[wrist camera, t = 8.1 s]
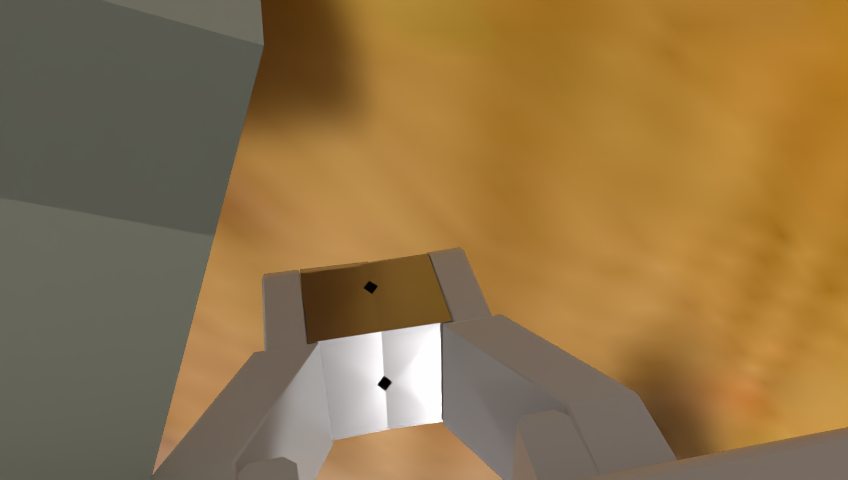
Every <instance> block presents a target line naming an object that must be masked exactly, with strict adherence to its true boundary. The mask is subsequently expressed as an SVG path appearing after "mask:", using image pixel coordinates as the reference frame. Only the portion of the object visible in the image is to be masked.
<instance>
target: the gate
mask: <svg viewBox="0 0 848 480" xmlns="http://www.w3.org/2000/svg"><path fill="white" fill-rule="evenodd" d="M263 48H264V38H263V25H262V11H261V0H0V480H151V477H152V473H153V469H154V465H155V462H156V458H157V454H158V450H159V446H160V442H161V439H162V435H163V431H164V427H165V423H166V419H167V416H168V412H169V408H170V404H171V400H172V396H173V393H174V389H175V385H176V381H177V377H178V373H179V370H180V366H181V362H182V358H183V354H184V350H185V347H186V343H187V339H188V335H189V331H190V328H191V324H192V320H193V316H194V312H195V308H196V305H197V301H198V297H199V293H200V289H201V285H202V282H203V278H204V274H205V270H206V266H207V262H208V259H209V255H210V251H211V247H212V243H213V239H214V236H215V232H216V228H217V224H218V220H219V216H220V213H221V209H222V205H223V201H224V197H225V193H226V190H227V186H228V182H229V178H230V174H231V170H232V167H233V163H234V159H235V155H236V151H237V147H238V144H239V140H240V136H241V132H242V128H243V124H244V121H245V117H246V113H247V109H248V105H249V101H250V98H251V94H252V90H253V86H254V82H255V78H256V75H257V71H258V67H259V63H260V59H261V55H262V52H263Z"/></svg>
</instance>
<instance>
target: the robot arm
mask: <svg viewBox="0 0 848 480" xmlns="http://www.w3.org/2000/svg"><path fill="white" fill-rule="evenodd" d="M300 276H301V278H300ZM262 295H263V323H264V351H260V352H255V353H253V354H252V355H251V357H250V358H249V359H248V360H247V362H246V363H245V364H244V365H243V366H242V368H241V369H240V370H239V371H238V372H237V374H236V375H235V376H234V377H233V378H232V380H231V381H230V382H229V383H228V384H227V386H226V387H225V388H224V389H223V391H222V392H221V393H220V394H219V395H218V397H217V398H216V399H215V400H214V401H213V403H212V404H211V405H210V406H209V407H208V409H207V410H206V411H205V412H204V413H203V415H202V416H201V417H200V418H199V420H198V421H197V422H196V423H195V424H194V426H193V427H192V428H191V429H190V430H189V432H188V433H187V434H186V435H185V436H184V438H183V439H182V440H181V441H180V443H179V444H178V445H177V446H176V447H175V449H174V450H173V451H172V452H171V453H170V455H169V456H168V457H167V458H166V459H165V461H164V462H163V463H162V464H161V465H160V467H159V468H158V469H157V470H156V472H155V473H154V474H153V475H152V477H151V480H315V479H316V477H317V475H318V473H319V471H320V469H321V467H322V465H323V463H324V461H325V459H326V457H327V455H328V453H329V451H330V449H331V447H332V445H333V440H338V439H343V438H347V437H352V436H357V435H362V434H367V433H372V432H377V431H382V430H387V429H394V428H401V427H408V426H415V425H422V424H429V423H435V422H442V421H443V424H444V425H445V426H446V427H447V428H448V429H449V430H450V431H451V432H452V433H453V434H454V435H455V436H457V437H458V438H459V439H460V440H461V441H462V442H463V443H464V444H465V445H466V446H467V447H469V448H470V449H471V450H472V451H473V452H474V453H475V454H476V455H477V456H478V457H479V458H480V459H482V460H483V461H484V462H485V463H486V464H487V465H488V466H489V467H490V468H491V469H492V470H493V471H495V472H496V473H497V474H498V475H499V476H500V477H501V478H502V479H503V480H848V427H846V428H841V429H836V430H831V431H825V432H820V433H815V434H810V435H805V436H799V437H794V438H789V439H784V440H779V441H774V442H768V443H763V444H758V445H753V446H748V447H743V448H737V449H732V450H727V451H722V452H717V453H712V454H706V455H701V456H696V457H691V458H685V459H680V460H677V458H676V457H675V455H674V453H673V452H672V450H671V448H670V447H669V445H668V443H667V442H666V440H665V438H664V437H663V435H662V433H661V432H660V430H659V428H658V427H657V425H656V423H655V422H654V420H653V418H652V417H651V415H650V413H649V412H648V410H647V408H646V407H645V405H644V403H643V402H642V400H641V398H640V397H639V395H638V393H636V392H634V391H633V390H631V389H629V388H628V387H626V386H624V385H622V384H621V383H619V382H617V381H615V380H614V379H612V378H610V377H609V376H607V375H605V374H603V373H602V372H600V371H598V370H597V369H595V368H593V367H591V366H590V365H588V364H586V363H584V362H583V361H581V360H579V359H578V358H576V357H574V356H572V355H571V354H569V353H567V352H566V351H564V350H562V349H560V348H559V347H557V346H555V345H553V344H552V343H550V342H548V341H547V340H545V339H543V338H541V337H540V336H538V335H536V334H534V333H533V332H531V331H529V330H528V329H526V328H524V327H522V326H521V325H519V324H517V323H516V322H514V321H512V320H510V319H509V318H507V317H505V316H503V315H497V316H492V314H491V311H490V309H489V307H488V305H487V302H486V300H485V298H484V296H483V293H482V291H481V289H480V286H479V284H478V282H477V280H476V277H475V275H474V273H473V270H472V268H471V266H470V264H469V261H468V259H467V257H466V255H465V252H464V250H462V249H461V248H460V247H458V248H452V249H446V250H440V251H434V252H428V253H427V254H422V255H415V256H408V257H401V258H394V259H387V260H380V261H373V262H360V263H351V264H342V265H334V266H325V267H316V268H308V269H300V273H299V271H298V270H292V271H284V272H277V273H269V274H264V275H263V279H262Z"/></svg>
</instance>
